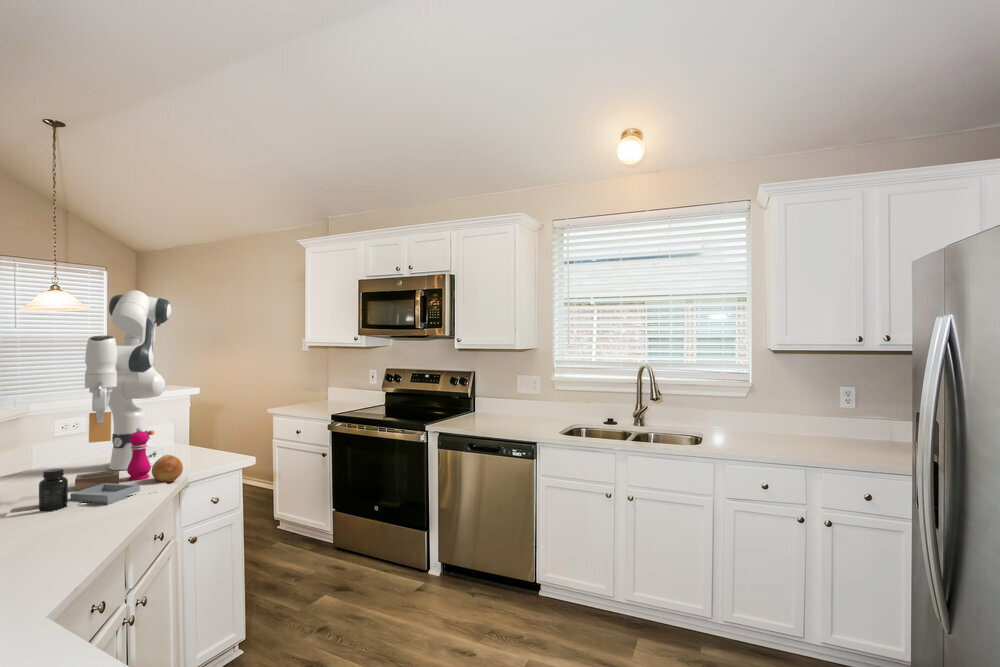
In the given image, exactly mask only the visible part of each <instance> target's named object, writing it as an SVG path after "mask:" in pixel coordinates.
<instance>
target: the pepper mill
mask: <svg viewBox="0 0 1000 667" xmlns="http://www.w3.org/2000/svg"><path fill="white" fill-rule="evenodd" d="M136 431H137V432H135V433H133V434H131V436H130V438H129V441H130V443H131V444H132V445H131V449H132V452H133V453H132V459H131V461H130V463H129V465H128V468H127V469H126V472H127V474H128V475H129V476H128V481H129V482H130V481H131V482H132V481H133V482H134V481H135V482H136V481H142V480H147V479H149V478H150V474H149V472H151V471H152V466H151V465H150V462H149V461H148V459H147V456H146V448H147V444H146V443H147V441H148V440H149V439H150V438H149V437H150V435H149V436H148V434H147V433H146V432H143V431H142V428H140V427H138V428H137V429H136Z"/></svg>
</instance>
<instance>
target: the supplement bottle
mask: <svg viewBox="0 0 1000 667" xmlns="http://www.w3.org/2000/svg"><path fill="white" fill-rule="evenodd" d="M64 472H65V470H64V468H62V467H61V468H51V469H45V470H43V473H42V478H43V479H42V480H40V481H39V483H38V510H39V512H42V511H49V512H54V511H53V510H56V511H59V510H58V509H60V510H62V509H61V508H63V509H65V508H67V507H68V505H69V504H68V502H69V501H68V500H69V499H68V497H69V496H68V495H69V493H68V491H69V490H68V489H69V487H68V486H69V485H68V484H69V483H68V482H69V481H68V478H67V477H65V476H64V475H65V473H64ZM64 507H65V508H64Z"/></svg>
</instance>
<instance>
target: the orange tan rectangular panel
mask: <svg viewBox="0 0 1000 667" xmlns="http://www.w3.org/2000/svg"><path fill="white" fill-rule="evenodd" d="M88 414H89V415H88V423H89V424H88V443H91V444H92V443H101V442H112V411H105V412H104V421H103V423H97V415H96V412H89V413H88Z"/></svg>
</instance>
